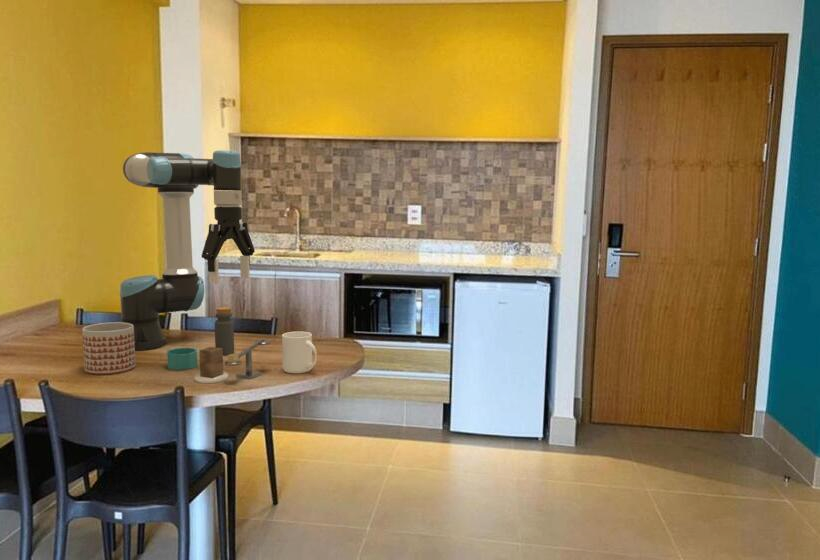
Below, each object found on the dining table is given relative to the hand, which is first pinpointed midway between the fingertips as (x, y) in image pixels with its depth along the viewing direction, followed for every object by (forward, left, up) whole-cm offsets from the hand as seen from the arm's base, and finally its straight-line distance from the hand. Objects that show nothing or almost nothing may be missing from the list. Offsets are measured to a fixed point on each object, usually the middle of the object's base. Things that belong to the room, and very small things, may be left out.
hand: (230, 280), depth 189 cm
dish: (0, -9, -27) cm, 28 cm away
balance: (+8, -2, -27) cm, 28 cm away
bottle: (-16, +16, -27) cm, 35 cm away
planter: (-34, -14, -27) cm, 45 cm away
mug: (+18, +9, -27) cm, 34 cm away
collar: (-17, -2, -27) cm, 32 cm away
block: (0, -9, -26) cm, 27 cm away
